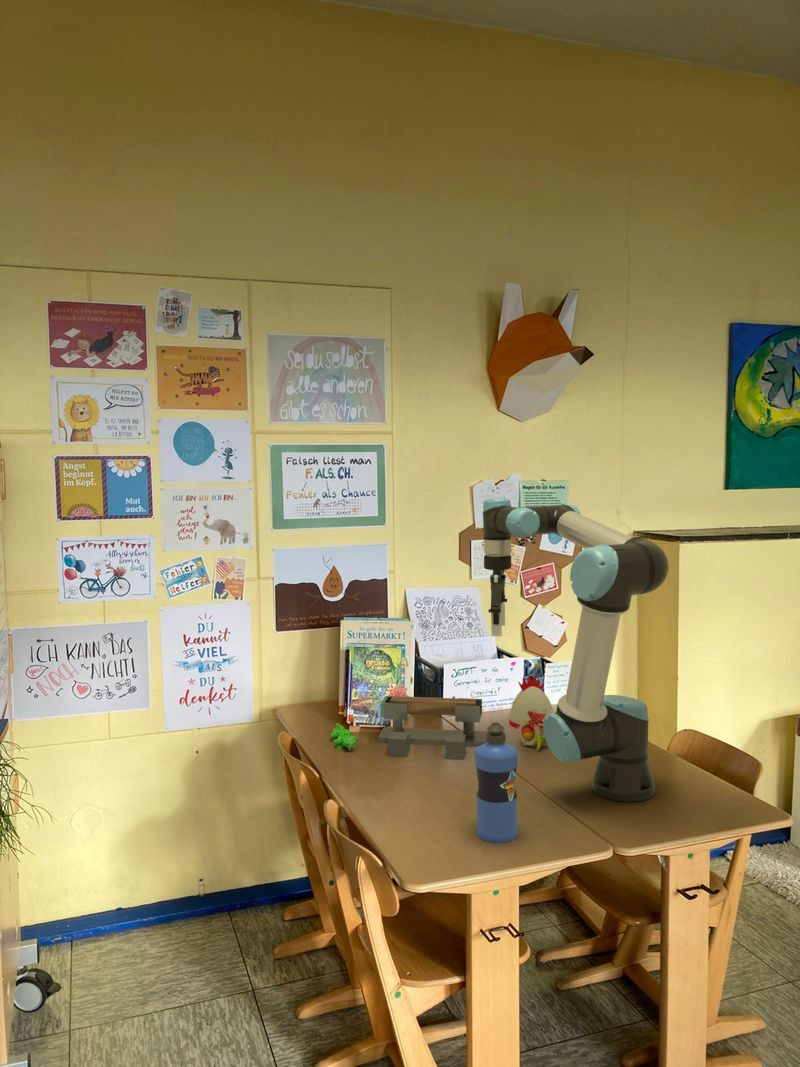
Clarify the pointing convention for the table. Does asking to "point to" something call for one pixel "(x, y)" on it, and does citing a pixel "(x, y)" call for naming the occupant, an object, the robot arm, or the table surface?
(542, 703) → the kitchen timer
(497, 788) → the water bottle
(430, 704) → the walnut rail
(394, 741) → the rail rest
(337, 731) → the crocodile figurine
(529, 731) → the bird rattle
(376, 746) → the table surface
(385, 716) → the rail stand
